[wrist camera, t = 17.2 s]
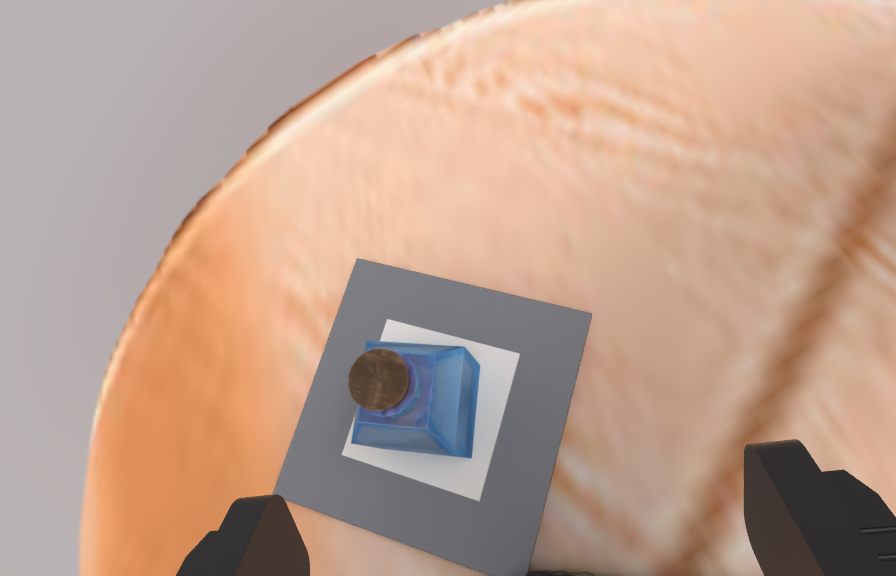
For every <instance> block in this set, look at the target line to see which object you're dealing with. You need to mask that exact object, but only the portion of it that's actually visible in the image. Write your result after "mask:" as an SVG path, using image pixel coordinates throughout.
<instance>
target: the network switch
mask: <svg viewBox="0 0 896 576" xmlns="http://www.w3.org/2000/svg"><path fill="white" fill-rule="evenodd" d="M526 576H597V575H594V574H590V573H587V572H579V573H570V572H565V571H548V570H547V571H535V572H529V573H528V574H527V575H526Z"/></svg>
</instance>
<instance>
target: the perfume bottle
mask: <svg viewBox="0 0 896 576" xmlns="http://www.w3.org/2000/svg"><path fill="white" fill-rule="evenodd" d="M479 375H480V365H479V363H478V362H477V361H476V360H475V358H474V357H473V356H472V355H471V354H470V352H469V351H468V350H467V349H466V347H462V346H446V345H431V344H416V343H401V342H385V341H370V340H366V346H365V352H364V353H363V354H362V355H361V356H359V357H358V358H357V359H356V361H355V362H354V364H353V365H352V367H351V369H350V372H349V376H348V388H349V391H350V394H351V396H352V398H353V399H354V401H355V402H356V403H357V406H356V413H355V420H354V426H353V433H352V440H351V444H357V445H363V446H369V447H375V448H381V449H389V450H398V451H407V452H417V453H426V454H435V455H445V456H454V457H463V458H472V451H473V440H474V429H475V419H476V408H477V397H478V386H479Z"/></svg>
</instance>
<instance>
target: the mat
mask: <svg viewBox="0 0 896 576" xmlns="http://www.w3.org/2000/svg"><path fill="white" fill-rule="evenodd" d="M591 317H592V313H588V312H583V311H579V310H575V309H571V308H566V307H562V306H558V305H554V304H549V303H545V302H541V301H537V300H532V299H528V298H524V297H520V296H516V295H511V294H507V293H503V292H499V291H494V290H490V289H486V288H482V287H477V286H473V285H469V284H465V283H460V282H456V281H452V280H448V279H443V278H439V277H435V276H431V275H426V274H422V273H418V272H414V271H409V270H405V269H401V268H397V267H392V266H388V265H384V264H380V263H375V262H371V261H367V260H363V259H358V258H357V260H356V263H355V265H354V268H353V271H352V274H351V277H350V279H349V282H348V285H347V288H346V291H345V293H344V296H343V299H342V302H341V305H340V307H339V310H338V313H337V316H336V319H335V321H334V324H333V327H332V330H331V333H330V335H329V338H328V341H327V344H326V346H325V349H324V352H323V355H322V358H321V360H320V363H319V366H318V369H317V372H316V374H315V377H314V380H313V383H312V386H311V388H310V391H309V394H308V397H307V400H306V402H305V405H304V408H303V411H302V414H301V416H300V419H299V422H298V425H297V428H296V430H295V433H294V436H293V439H292V441H291V444H290V447H289V450H288V453H287V455H286V458H285V461H284V464H283V467H282V469H281V472H280V475H279V478H278V481H277V483H276V486H275V489H274V492H273V495H274V494H278V495H280V496H282V497H283V499H285V500H288V501H291V502H293V503H296V504H299V505H301V506H304V507H307V508H309V509H312V510H315V511H317V512H320V513H323V514H325V515H328V516H331V517H334V518H336V519H339V520H342V521H344V522H347V523H350V524H352V525H355V526H358V527H360V528H363V529H366V530H369V531H371V532H374V533H377V534H379V535H382V536H385V537H387V538H390V539H393V540H395V541H398V542H401V543H403V544H406V545H409V546H412V547H414V548H417V549H420V550H422V551H425V552H428V553H430V554H433V555H436V556H438V557H441V558H444V559H447V560H449V561H452V562H455V563H457V564H460V565H463V566H465V567H468V568H471V569H473V570H476V571H479V572H481V573H484V574H487V575H490V576H526V575H527V574H528V570H529V566H530V562H531V558H532V554H533V550H534V546H535V542H536V538H537V534H538V530H539V526H540V522H541V518H542V514H543V510H544V506H545V502H546V498H547V494H548V490H549V486H550V482H551V478H552V474H553V470H554V466H555V462H556V458H557V454H558V450H559V446H560V442H561V438H562V434H563V430H564V426H565V422H566V418H567V414H568V410H569V406H570V402H571V397H572V393H573V389H574V385H575V381H576V377H577V373H578V369H579V365H580V361H581V357H582V353H583V349H584V345H585V341H586V337H587V333H588V329H589V325H590V321H591ZM366 340H370V341H385V342H401V343H416V344H431V345H446V346H462V347H466V349H467V350H468V351H469V352H470V354H471V355H472V356H473V357H474V358H475V360H476V361H477V362H478V363H479V365H480V375H479V386H478V397H477V408H476V419H475V429H474V440H473V451H472V458H463V457H454V456H445V455H435V454H426V453H417V452H407V451H398V450H389V449H381V448H375V447H369V446H363V445H357V444H351V440H352V433H353V426H354V420H355V413H356V406H357V403H356V402H355V401H354V399H353V398H352V396H351V394H350V391H349V388H348V376H349V372H350V369H351V367H352V365H353V364H354V362H355V361H356V359H357V358H358V357H359V356H361V355H362V354H363V353H364V352H365V346H366Z"/></svg>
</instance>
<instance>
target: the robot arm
mask: <svg viewBox="0 0 896 576" xmlns="http://www.w3.org/2000/svg"><path fill="white" fill-rule="evenodd" d="M744 518H745V524H746V529H747V533H748V537H749V540H750V543H751V546H752V549H753V551H754V554H755V556H756V558H757V560H758V563H759V565H760V567H761V569H762V571H763V574H764V576H896V517H895V516H894V515H893V513H892V512H891V511H890V509H889V508H888V507H887V505H886V504H885V503H884V501H883V500H882V499H881V497H880V496H879V495H878V494H877V493H876V492H875V491H873V490H872V489H870V488H869V487H868V486H866V485H865V484H863V483H862V482H861V481H859V480H858V479H856V478H855V477H854V476H852V475H851V474H849V473H848V472H847V471H845V470H836V471H826V472H821V470H820V469H819V467H818V466H817V464H816V463H815V461H814V460H813V458H812V457H811V455H810V454H809V452H808V451H807V449H806V448H805V446H804V445H803V444H802V443H801V442H800V441H799V440H796V439H794V440H785V441H776V442H766V443H757V444H748V445H746V447H745V450H744ZM176 576H310V562H309V555H308V552H307V549H306V547H305V544H304V542H303V540H302V538H301V535H300V533H299V531H298V529H297V527H296V524H295V522H294V520H293V518H292V515H291V513H290V511H289V509H288V507H287V504H286V502H285V500H284V499H283V497H282V496H280V495H278V494H274V495H265V496H255V497H246V498H239V499H237V500H235V501H234V502H233V504H232V505H231V507H230V509H229V510H228V512H227V514H226V516H225V518H224V520H223V522H222V524H221V526H220V528H219V530H218V531H210V532H209V533H208V534H207V535H206V536H205V537H204V538H203V539H202V540H201V541H200V542H199V544H198V545H197V546H196V547H195V548H194V549H193V550H192V551H191V552H190V553H189V554H188V555H187V556H186V558H185V560H184V562H183V563H182V565H181V567H180V569H179V571H178V573H177V575H176Z"/></svg>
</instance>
